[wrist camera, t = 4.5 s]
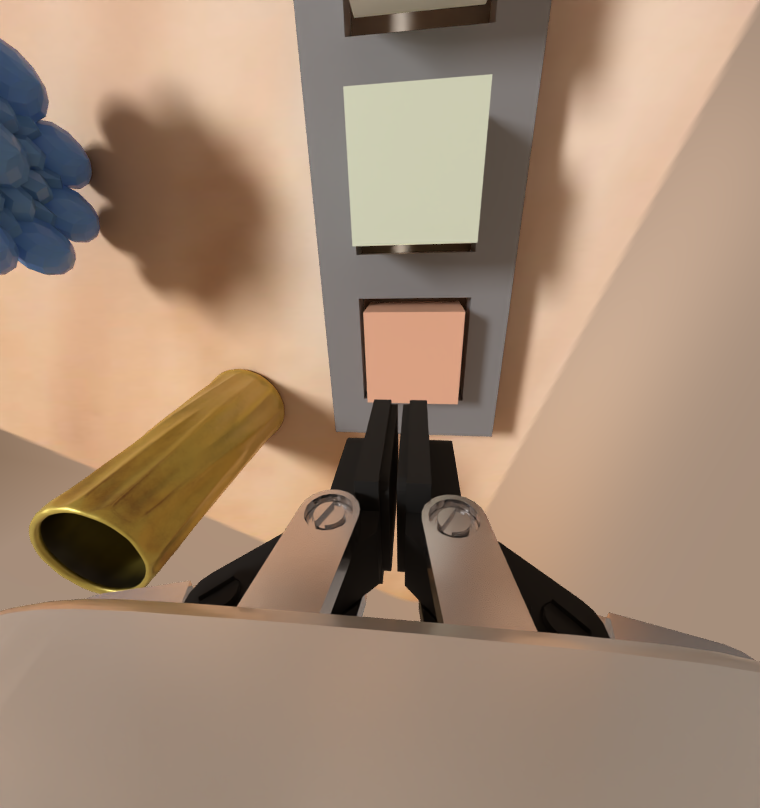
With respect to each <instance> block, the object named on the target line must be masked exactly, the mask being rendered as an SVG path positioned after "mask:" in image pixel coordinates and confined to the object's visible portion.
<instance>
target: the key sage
mask: <svg viewBox="0 0 760 808" xmlns="http://www.w3.org/2000/svg"><path fill="white" fill-rule="evenodd" d="M491 85H492V74H489V75H477V76H464V77H452V78H440V79H428V80H416V81H403V82H391V83H379V84H367V85H355V86H343V92H344V109H345V127H346V144H347V161H348V179H349V196H350V213H351V231H352V246H382V245H416V244H450V243H477V242H478V231H479V220H480V209H481V197H482V186H483V175H484V164H485V152H486V141H487V130H488V119H489V107H490V96H491Z"/></svg>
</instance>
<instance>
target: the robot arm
mask: <svg viewBox="0 0 760 808" xmlns="http://www.w3.org/2000/svg"><path fill="white" fill-rule="evenodd" d="M396 503H397V568H398V572H405V586H406V587H407V588H408V589H409V590H410V591H411V592H412V593H413V594H414V595H415V597H416V598H417V599H418V600H419V614H420V621H421V622H419V621H406V620H395V619H383V618H371V617H362V616H363V612H364V608H365V605H366V599H367V593H368V592H369V591H371V590H372V589H373V588H374V587H376V586H377V585H378V584H383V574H384V571H391V568H392V556H393V542H394V529H395V516H396ZM0 808H760V661H756V660H754V659H753V658H751V657H750V656H748V655H747V654H745V653H743V652H742V651H739V650H737V649H734V648H732V647H729V646H727V645H725V644H721V643H718V642H714V641H710V640H707V639H703V638H700V637H696V636H692V635H689V634H685V633H682V632H678V631H675V630H671V629H667V628H664V627H660V626H657V625H653V624H649V623H646V622H642V621H639V620H635V619H631V618H627V617H624V616H621V615H617V614H613V613H610V612H609V613H608V616H607V617H603V616H599V615H597V614H596V613H595V612H594V611H593V610H592V609H591V608H590V607H589V606H588V605H586V604H585V603H584V602H583V601H582V600H580V599H579V598H577V597H576V596H575V595H573V594H572V593H571V592H569V591H568V590H566V589H565V588H563V587H562V586H560V585H559V584H558V583H556V582H555V581H553V580H552V579H551V578H549V577H548V576H546V575H545V574H544V573H542V572H541V571H539V570H538V569H536V568H535V567H534V566H532V565H531V564H530V563H528V562H527V561H525V560H524V559H522V558H521V557H520V556H518V555H517V554H515V553H514V552H513V551H511V550H510V549H508V548H507V547H506V546H504V545H503V544H501V543H500V542H498V541H497V539H496V536H495V534H494V532H493V530H492V527H491V525H490V523H489V520H488V519H487V516H486V514H485V513H484V511H483V510H482V508H481V507H480V506H478V505H477V504H476V503H475V502H473V501H471V500H469V499H467V498H465V497H462V496H461V493H460V487H459V481H458V475H457V468H456V462H455V456H454V450H453V444H452V441H442V440H429V429H428V411H427V400H410V404H403V411H402V423H401V436H400V448H399V460H398V404H392V401H391V400H382V399H374V402H373V406H372V410H371V414H370V418H369V422H368V426H367V430H366V434H365V438H348V439H347V441H346V444H345V447H344V450H343V453H342V456H341V459H340V462H339V465H338V468H337V471H336V474H335V477H334V480H333V483H332V486H331V489H330V490H325V491H321V492H318V493H316V494H313V495H312V496H310V497H309V498H307V499H306V500H305V501H304V502H303V503H302V504H301V506H300V507H299V509H298V510H297V512H296V513H295V515H294V517H293V518H292V520H291V521H290V523H289V525H288V526H287V528H286V529H285V531H284V532H283V533H282V534H280V535H279V536H277V537H275V538H273V539H272V540H270V541H268V542H266V543H265V544H263V545H261V546H259V547H257V548H256V549H254V550H252V551H250V552H249V553H247V554H245V555H243V556H242V557H240V558H238V559H236V560H234V561H233V562H231V563H229V564H227V565H225V566H224V567H222V568H220V569H218V570H217V571H215V572H213V573H211V574H210V575H208V576H207V577H206V578H204V579H203V580H201V581H200V582H199V583H198V584H197V585H193V586H192V584H191V581H184V582H177V583H170V584H163V585H157V586H149V587H143V588H136V589H129V590H122V591H115V592H108V593H102V594H99V595H96V596H92V597H89V598H87V599H75V600H62V601H49V602H43V603H37V604H31V605H25V606H20V607H14V608H9V609H5V610H2V611H0Z"/></svg>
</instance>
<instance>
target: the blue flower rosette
mask: <svg viewBox="0 0 760 808" xmlns="http://www.w3.org/2000/svg"><path fill="white" fill-rule="evenodd" d="M48 103H49V100H48V96H47V92H46V88H45V86H44V84H43V83H42V81H41V79H40V78H39V76H38V74H37V73H36V71H35V70H34V68H33V67H32V66H31V65H30V64H29V63H28V62H27V61H26V60H25V58H24V57H23V56H22V55H21V54H20V53H19V52H18V51H17V50H16V49H14V48H13V47H12V46H10V45H9V44H7V43H6V42H5V41H3V40H2V39H0V275H4V274H7V273H8V272H10V271H11V270H13V269H14V268H16V265H17V261H19V262H21V263H22V264H23V265H25V266H26V267H27V268H29V269H32V270H35V271H37V272H40V273H43V274H47V275H59V274H65V273H66V272H68V271H69V270H71V269H72V268H73V266H74V263H75V260H76V255H75V251H74V247H73V246H72V244H71V243H70V241H69V240H72V241H74V242H90V241H91V240H93V239H94V238H96V237H97V235H98V232H99V230H100V223H99V217H98V215H97V213H96V211H95V210H94V208H93V207H92V206H91V205H90V204H89V203H88V202H87V201H86V200H85V199H84V198H83V197H82V196H81V195H80V194H79V193H78V192H76V191H74V190H72V189H70V188H74V189H81V188H82V187H84V186H86V185H87V184H89V182H90V179H91V176H92V169H91V162H90V159H89V158H88V156H87V154H86V153H85V151H84V149H83V148H82V146H81V145H80V144H79V143H78V142H77V141H76V140H75V139H74V138H73V137H72V136H71V135H70V134H69V133H68V132H67V131H65V130H64V129H62V128H60V127H59V126H57V125H56V124H54V123H52V122H48V121H43V120H41V119H42V118H44V117H46V113H47V108H48Z"/></svg>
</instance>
